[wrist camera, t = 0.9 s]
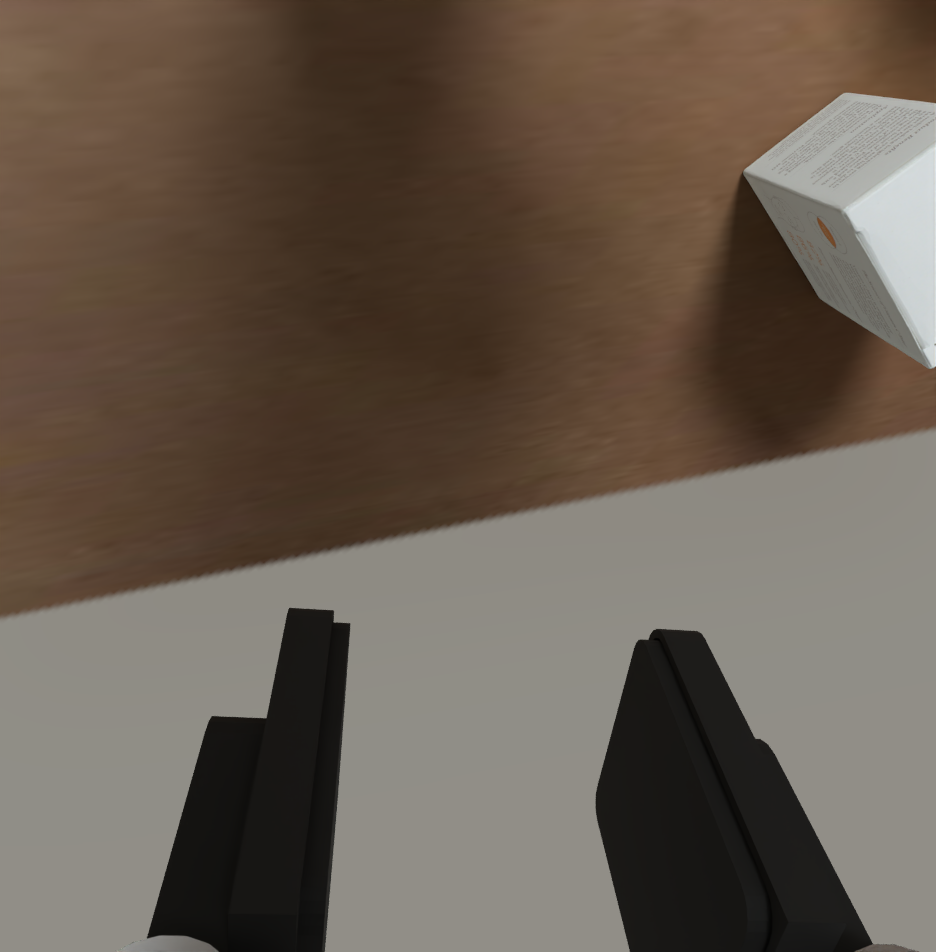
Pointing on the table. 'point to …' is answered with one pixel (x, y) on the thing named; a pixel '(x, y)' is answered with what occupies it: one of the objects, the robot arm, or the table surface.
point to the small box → (862, 213)
